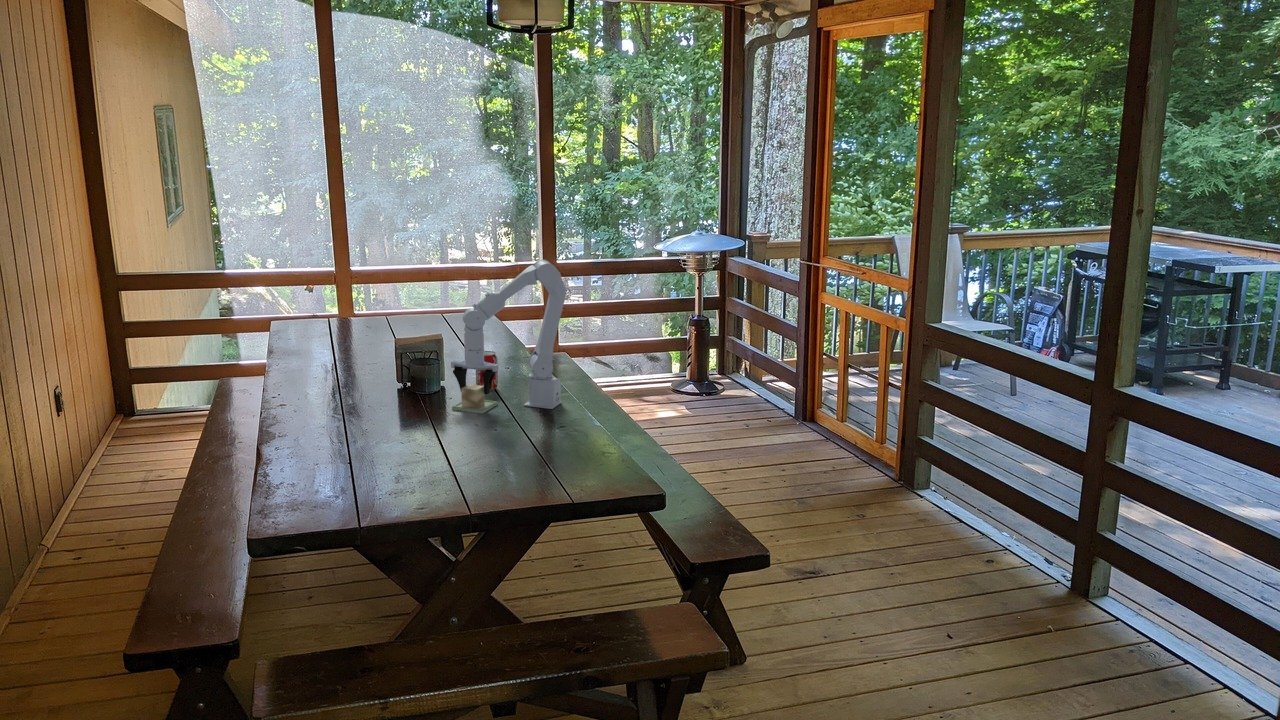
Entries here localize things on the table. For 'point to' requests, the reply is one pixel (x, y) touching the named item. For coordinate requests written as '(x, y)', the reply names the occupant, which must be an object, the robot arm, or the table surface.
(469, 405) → the maple block
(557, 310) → the robot arm
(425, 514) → the table surface
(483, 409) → the tray
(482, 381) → the soda can
